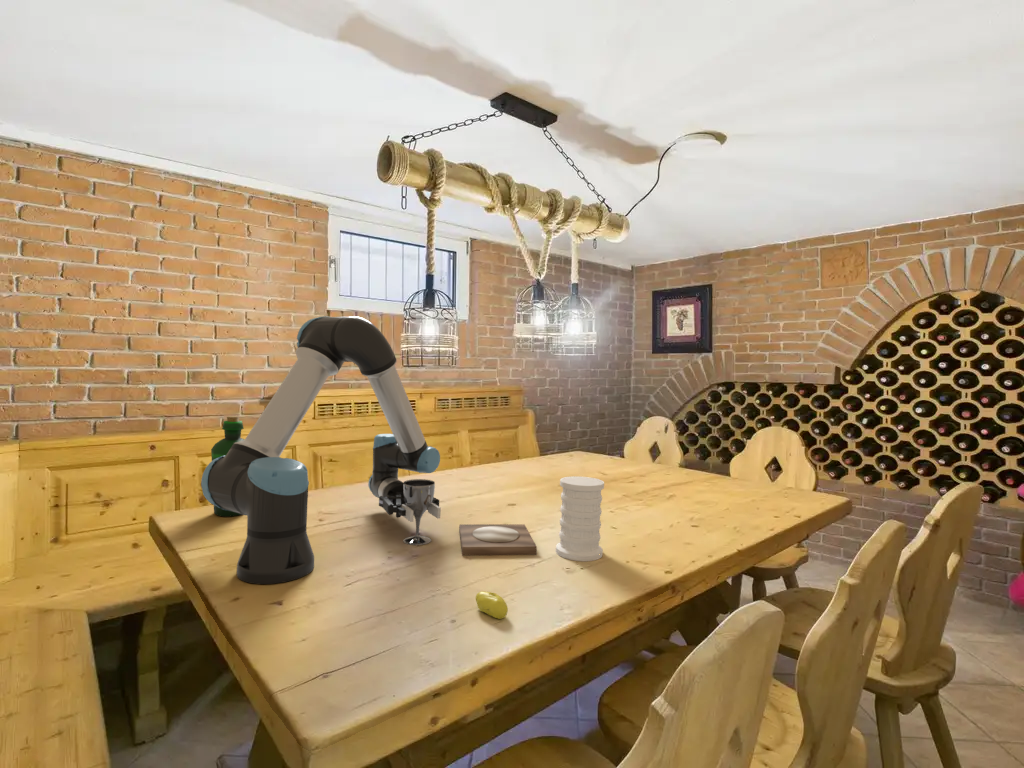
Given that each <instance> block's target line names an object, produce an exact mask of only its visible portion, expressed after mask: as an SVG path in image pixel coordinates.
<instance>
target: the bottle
mask: <svg viewBox="0 0 1024 768" xmlns="http://www.w3.org/2000/svg"><path fill="white" fill-rule="evenodd" d="M221 430H223V431H224V438H222V439H220V440H218V441H217V442H216V443H214V444H213V446H212V447H211V450H210V451H211V452H210V453H211V462H212V461H213V460H214V459H216V458H219V457H221V456H226V455H227V453H228V452H229V450H230V449H231V447H232V446H233V444H234V443H236V442H239V441H243V440H245V439H246V438H243V437H241V436H242V430H244V424H243V420H240V416H239V415H227V416H226V420H224V421H223V424H222V427H221ZM213 514H215V515H216V516H219V517H236V516H240V515H242V514H240V513H236V512H233V511H226V510H222V509H221V508H219V507H217V506H215V505H213Z"/></svg>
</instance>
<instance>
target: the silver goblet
mask: <svg viewBox="0 0 1024 768" xmlns="http://www.w3.org/2000/svg"><path fill="white" fill-rule="evenodd" d="M435 488H436V483H435V481H434V480H431V479H425V478H414V479H413V478H412V479H407V480H405V481H403V494H404V501H405V504H406V506H408V507H409V508H411V509H412V510H413V511H414V513H413V518H414V519H415V535H412V536H407V537H405V538H404V539H403V540H402V541H403V543H404V544H407V545H410V546H423V545H428V544H429V543H431V542H432V539H431V538H430V537H428V536H425V535H424V536H423V535H420V525H421V518H422V517H423V515H424V514H425V513H426V512H427V511H428V510H427V509H428V508H429V507H430V505H431V504H432V501H433V497H434V496H435V492H436V491H435ZM434 498H435V497H434Z"/></svg>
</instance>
